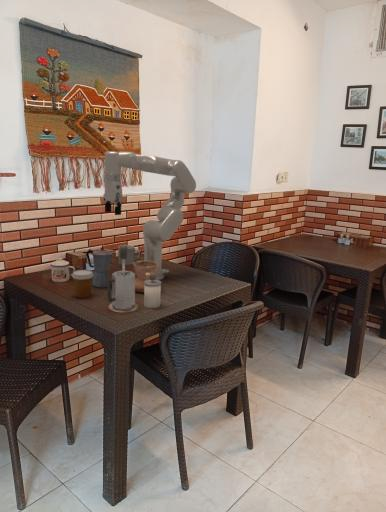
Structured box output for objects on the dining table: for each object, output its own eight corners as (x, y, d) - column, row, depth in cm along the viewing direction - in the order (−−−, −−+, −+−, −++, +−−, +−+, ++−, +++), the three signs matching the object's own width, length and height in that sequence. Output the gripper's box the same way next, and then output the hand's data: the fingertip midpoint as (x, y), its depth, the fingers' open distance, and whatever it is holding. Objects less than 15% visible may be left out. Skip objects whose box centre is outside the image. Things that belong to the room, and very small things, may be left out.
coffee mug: (118, 264, 239) (118, 248, 236) (118, 260, 248) (118, 245, 246) (140, 264, 242) (140, 248, 239) (139, 260, 251) (139, 245, 249)
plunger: (125, 284, 173) (125, 245, 168) (128, 286, 170) (128, 247, 166) (119, 285, 171) (119, 246, 167) (121, 287, 169) (121, 247, 164)
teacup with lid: (50, 282, 202) (49, 260, 199) (53, 277, 210) (52, 256, 207) (74, 282, 204) (73, 260, 201) (76, 277, 212) (75, 256, 210)
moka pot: (110, 289, 196) (110, 250, 191) (81, 286, 199) (80, 247, 194) (118, 283, 205) (117, 246, 200) (90, 280, 208) (89, 243, 203)
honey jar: (82, 302, 178) (82, 276, 175) (68, 297, 183) (67, 272, 180) (98, 296, 186) (97, 272, 183) (83, 292, 191) (83, 268, 188)
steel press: (129, 301, 180) (129, 269, 176) (138, 308, 172) (139, 275, 168) (103, 305, 173) (103, 272, 169) (112, 313, 165) (112, 279, 162)
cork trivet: (130, 301, 182) (130, 299, 182) (143, 310, 172) (143, 309, 171) (103, 305, 175) (103, 304, 175) (115, 316, 165) (115, 314, 164)
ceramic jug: (162, 296, 190) (163, 267, 187) (132, 297, 187) (132, 268, 184) (156, 284, 207) (157, 258, 204) (128, 285, 204) (129, 258, 200)
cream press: (155, 302, 182) (156, 270, 178) (163, 308, 176) (164, 274, 172) (140, 305, 178) (141, 272, 174) (148, 311, 171) (149, 276, 168)
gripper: (128, 179, 186) (128, 215, 190) (111, 176, 198) (111, 210, 203) (114, 179, 181) (114, 216, 185) (97, 176, 194) (97, 211, 198)
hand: (112, 213), depth 194 cm, fingers open, 9 cm apart
